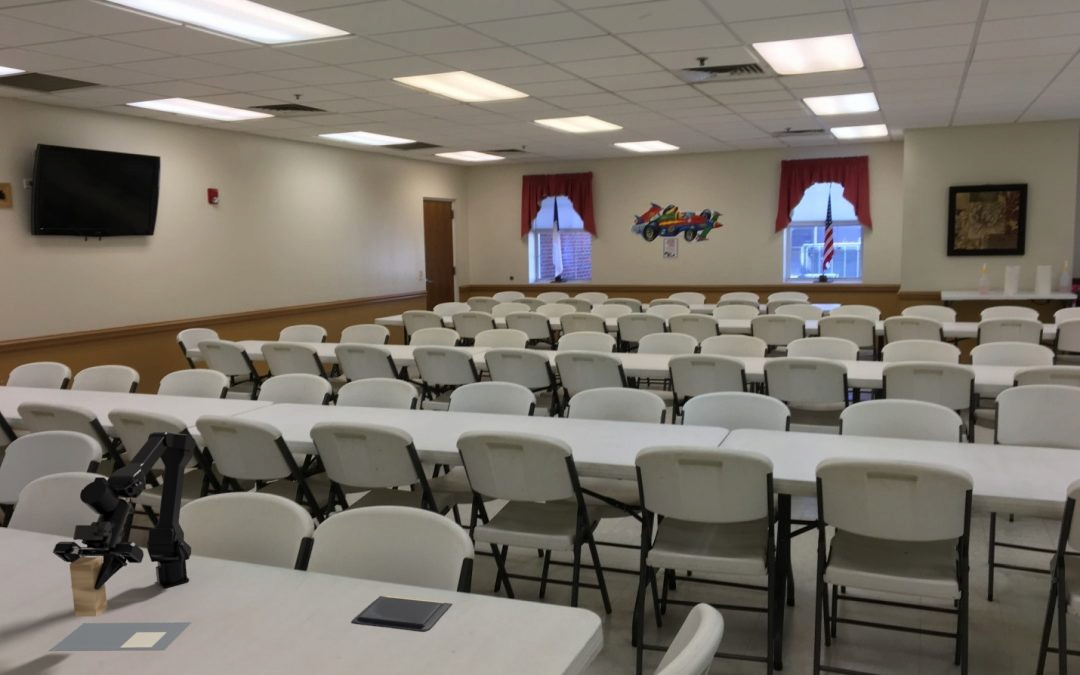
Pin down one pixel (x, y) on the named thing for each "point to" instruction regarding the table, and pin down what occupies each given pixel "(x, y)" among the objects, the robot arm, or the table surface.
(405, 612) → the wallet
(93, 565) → the wooden block
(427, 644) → the table surface
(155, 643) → the rubber mat
